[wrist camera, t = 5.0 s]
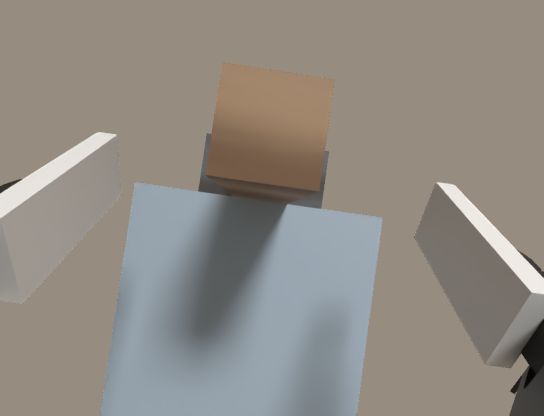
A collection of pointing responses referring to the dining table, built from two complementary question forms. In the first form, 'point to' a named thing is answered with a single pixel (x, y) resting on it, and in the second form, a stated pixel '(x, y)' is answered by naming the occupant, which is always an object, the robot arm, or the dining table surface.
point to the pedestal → (239, 308)
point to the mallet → (268, 136)
